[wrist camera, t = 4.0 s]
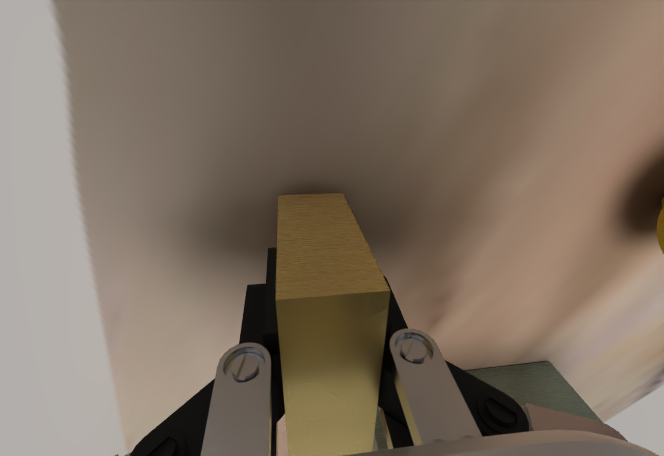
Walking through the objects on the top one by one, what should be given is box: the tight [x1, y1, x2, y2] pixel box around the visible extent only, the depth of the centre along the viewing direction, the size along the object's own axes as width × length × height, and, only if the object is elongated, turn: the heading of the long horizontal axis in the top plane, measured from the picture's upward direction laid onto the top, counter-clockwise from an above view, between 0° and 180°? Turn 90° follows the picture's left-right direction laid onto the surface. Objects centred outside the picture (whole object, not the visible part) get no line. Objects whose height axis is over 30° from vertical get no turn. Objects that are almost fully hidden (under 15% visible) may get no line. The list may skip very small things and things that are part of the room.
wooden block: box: [276, 193, 390, 456], centre depth 11 cm, size 6×2×6 cm, turn 179°
